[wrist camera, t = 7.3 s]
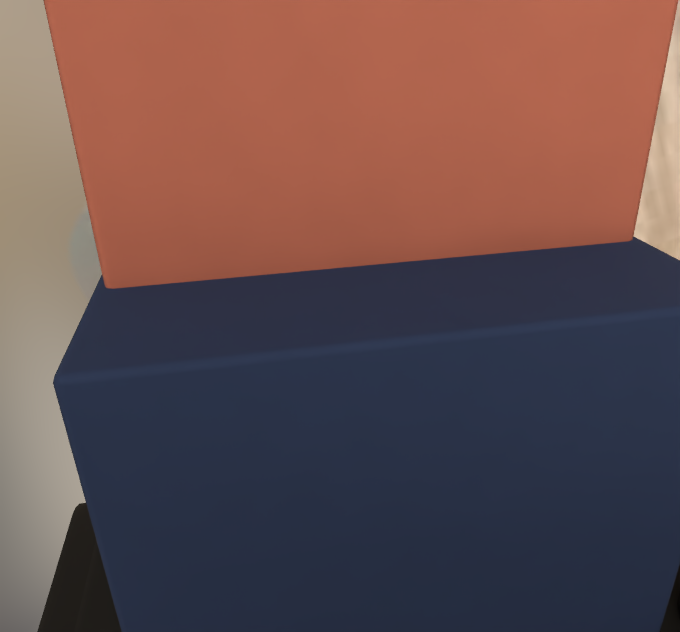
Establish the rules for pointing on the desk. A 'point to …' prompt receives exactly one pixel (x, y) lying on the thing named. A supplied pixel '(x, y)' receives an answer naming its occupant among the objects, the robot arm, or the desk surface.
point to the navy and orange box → (373, 314)
